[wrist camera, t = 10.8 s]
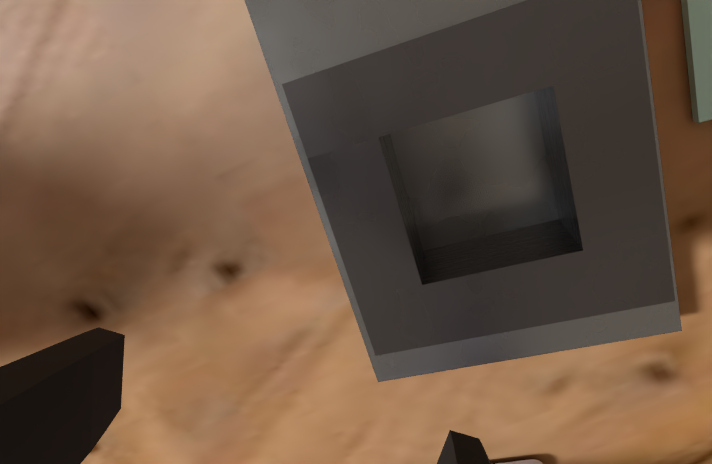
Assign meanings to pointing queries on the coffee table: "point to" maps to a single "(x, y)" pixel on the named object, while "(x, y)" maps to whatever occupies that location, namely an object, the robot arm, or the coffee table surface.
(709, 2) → the mat
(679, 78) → the coffee table surface
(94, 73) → the coffee table surface
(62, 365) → the robot arm
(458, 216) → the plate
